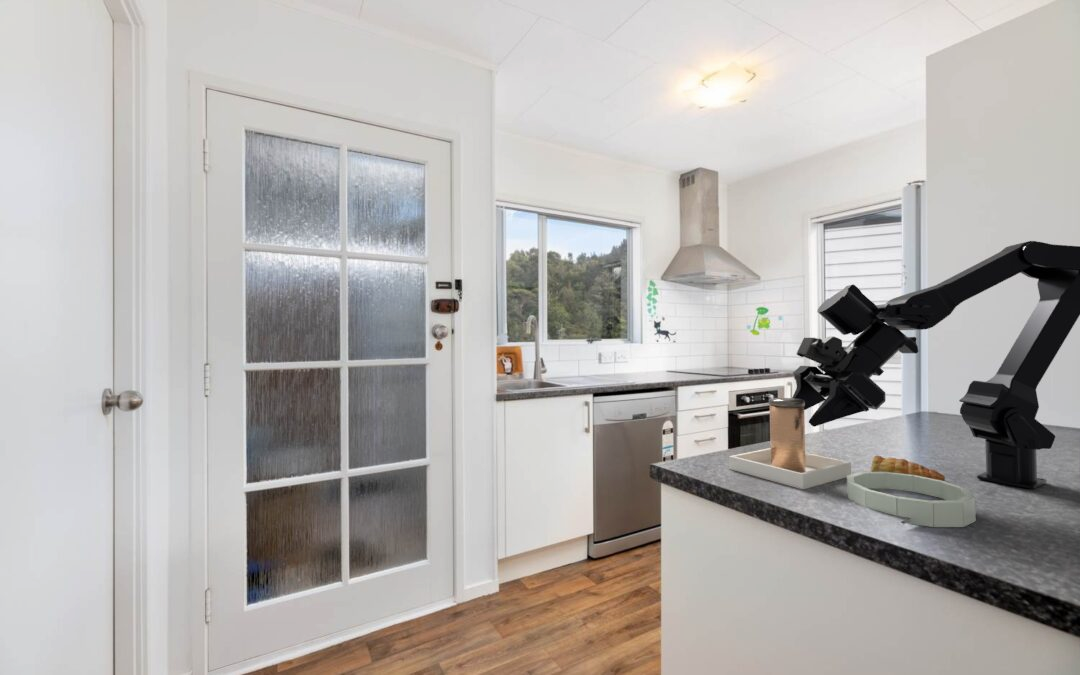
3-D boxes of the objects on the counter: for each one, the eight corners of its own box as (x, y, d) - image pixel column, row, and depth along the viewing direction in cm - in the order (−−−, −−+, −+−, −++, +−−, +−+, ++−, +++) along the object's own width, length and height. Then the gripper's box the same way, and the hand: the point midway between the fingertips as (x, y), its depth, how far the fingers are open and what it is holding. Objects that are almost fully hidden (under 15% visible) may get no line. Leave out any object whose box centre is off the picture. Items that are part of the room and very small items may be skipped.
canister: (782, 466, 82) (781, 397, 82) (813, 473, 77) (811, 400, 77) (763, 470, 79) (761, 399, 79) (793, 478, 74) (792, 402, 74)
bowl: (876, 486, 72) (876, 467, 72) (991, 513, 60) (990, 490, 60) (828, 501, 66) (827, 480, 66) (945, 535, 54) (945, 510, 54)
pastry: (946, 484, 73) (945, 460, 73) (943, 495, 68) (943, 469, 69) (874, 473, 80) (874, 451, 80) (867, 482, 75) (867, 459, 75)
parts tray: (776, 462, 87) (776, 446, 87) (851, 480, 75) (850, 462, 75) (729, 473, 80) (728, 456, 80) (803, 494, 69) (802, 474, 69)
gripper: (804, 323, 87) (744, 381, 88) (862, 318, 68) (785, 392, 69) (849, 364, 86) (787, 422, 87) (920, 370, 67) (841, 444, 68)
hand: (797, 419), depth 78 cm, fingers open, 9 cm apart
